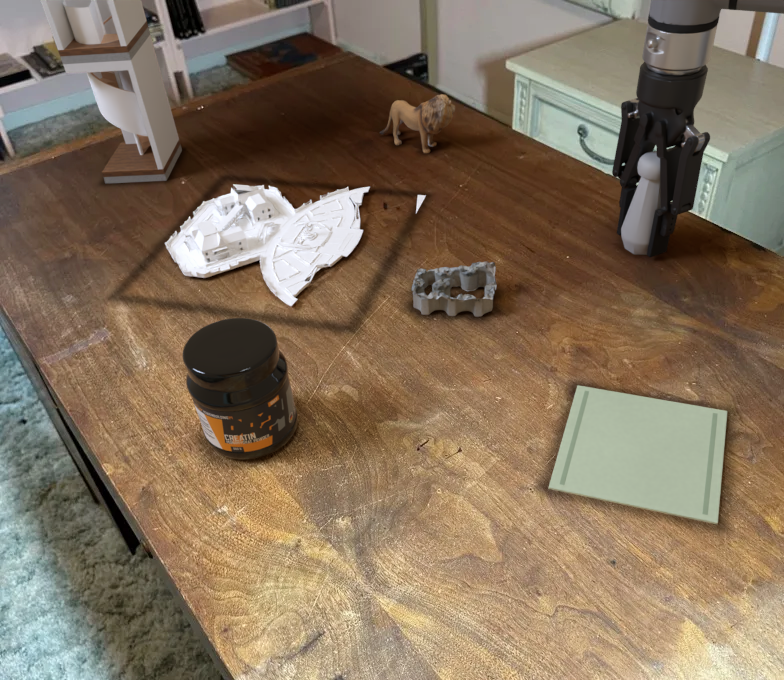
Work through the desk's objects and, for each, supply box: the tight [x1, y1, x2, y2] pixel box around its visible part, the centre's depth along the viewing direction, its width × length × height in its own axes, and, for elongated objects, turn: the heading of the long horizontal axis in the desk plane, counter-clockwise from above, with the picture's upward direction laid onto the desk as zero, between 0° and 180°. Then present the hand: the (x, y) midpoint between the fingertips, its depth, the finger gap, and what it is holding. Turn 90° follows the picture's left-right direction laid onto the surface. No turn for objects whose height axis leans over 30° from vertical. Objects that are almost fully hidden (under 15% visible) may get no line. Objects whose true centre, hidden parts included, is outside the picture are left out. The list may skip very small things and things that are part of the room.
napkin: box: [548, 384, 728, 525], centre depth 79 cm, size 16×16×1 cm
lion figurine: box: [379, 93, 456, 154], centre depth 129 cm, size 15×5×9 cm, turn 58°
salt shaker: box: [620, 150, 661, 256], centre depth 101 cm, size 6×6×13 cm
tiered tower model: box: [39, 0, 183, 184], centre depth 121 cm, size 11×11×35 cm
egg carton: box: [410, 261, 497, 318], centre depth 98 cm, size 11×8×4 cm
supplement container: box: [182, 317, 299, 461], centre depth 81 cm, size 10×10×12 cm
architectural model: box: [164, 183, 427, 307], centre depth 112 cm, size 28×33×4 cm
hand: (641, 241), depth 105 cm, fingers closed on salt shaker, 6 cm apart
